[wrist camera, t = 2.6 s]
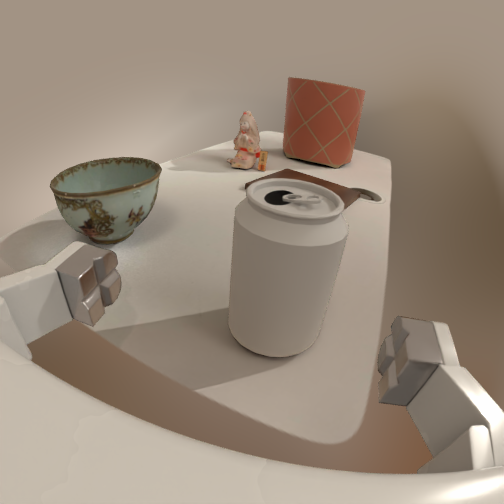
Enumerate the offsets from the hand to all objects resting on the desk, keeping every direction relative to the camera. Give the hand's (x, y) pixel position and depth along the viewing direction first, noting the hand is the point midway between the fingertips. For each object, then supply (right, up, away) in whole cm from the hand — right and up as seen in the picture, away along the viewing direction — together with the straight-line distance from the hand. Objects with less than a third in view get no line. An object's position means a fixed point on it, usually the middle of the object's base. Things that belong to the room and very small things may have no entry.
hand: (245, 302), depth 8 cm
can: (+2, -5, +17) cm, 18 cm away
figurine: (-1, +19, +56) cm, 59 cm away
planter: (+17, +25, +68) cm, 75 cm away
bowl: (-18, +4, +28) cm, 33 cm away
